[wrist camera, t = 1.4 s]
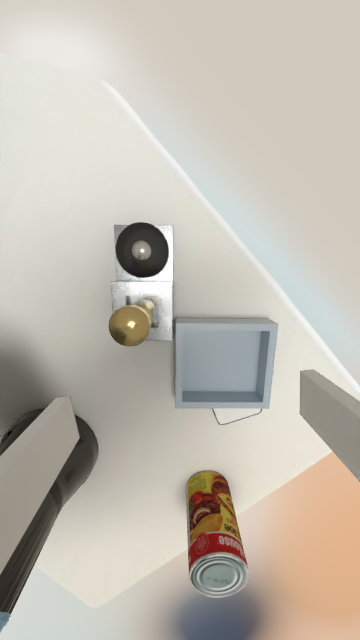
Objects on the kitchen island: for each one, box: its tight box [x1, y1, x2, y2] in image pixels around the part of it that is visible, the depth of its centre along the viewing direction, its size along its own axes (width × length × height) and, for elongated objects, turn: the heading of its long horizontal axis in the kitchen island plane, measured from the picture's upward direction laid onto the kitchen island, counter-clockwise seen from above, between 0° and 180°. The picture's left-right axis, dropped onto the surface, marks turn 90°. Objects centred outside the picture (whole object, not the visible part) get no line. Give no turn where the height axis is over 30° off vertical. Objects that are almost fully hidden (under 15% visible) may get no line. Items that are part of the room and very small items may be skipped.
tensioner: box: [111, 222, 173, 341], centre depth 30 cm, size 16×8×4 cm, turn 179°
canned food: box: [186, 471, 249, 598], centre depth 34 cm, size 8×8×12 cm
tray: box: [175, 318, 278, 408], centre depth 33 cm, size 14×13×4 cm
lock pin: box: [109, 299, 155, 346], centre depth 26 cm, size 4×4×10 cm
